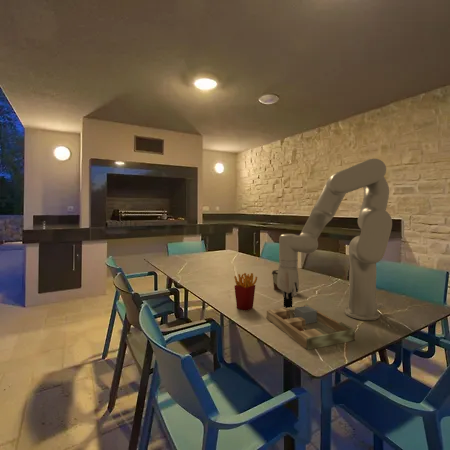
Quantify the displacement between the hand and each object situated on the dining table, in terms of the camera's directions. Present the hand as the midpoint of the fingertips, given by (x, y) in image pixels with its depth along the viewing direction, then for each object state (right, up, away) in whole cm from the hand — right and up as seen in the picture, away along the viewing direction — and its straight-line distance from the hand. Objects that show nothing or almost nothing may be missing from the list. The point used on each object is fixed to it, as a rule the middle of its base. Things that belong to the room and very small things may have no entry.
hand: (288, 306), depth 119 cm
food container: (+4, 0, +27) cm, 27 cm away
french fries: (-18, -1, +3) cm, 18 cm away
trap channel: (+3, -2, -18) cm, 19 cm away
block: (+4, -2, -11) cm, 12 cm away
